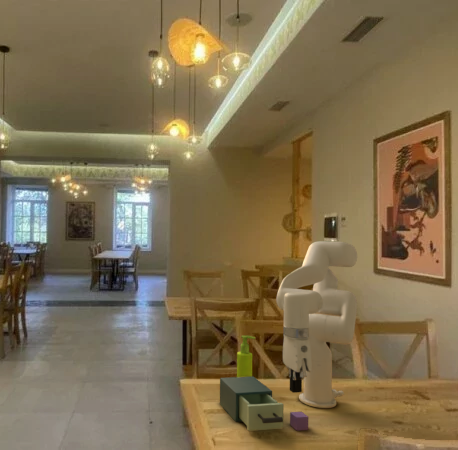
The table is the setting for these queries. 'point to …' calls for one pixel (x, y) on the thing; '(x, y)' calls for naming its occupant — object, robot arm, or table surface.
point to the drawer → (260, 412)
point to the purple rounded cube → (299, 421)
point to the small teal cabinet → (239, 392)
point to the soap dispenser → (244, 359)
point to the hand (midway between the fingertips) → (295, 391)
